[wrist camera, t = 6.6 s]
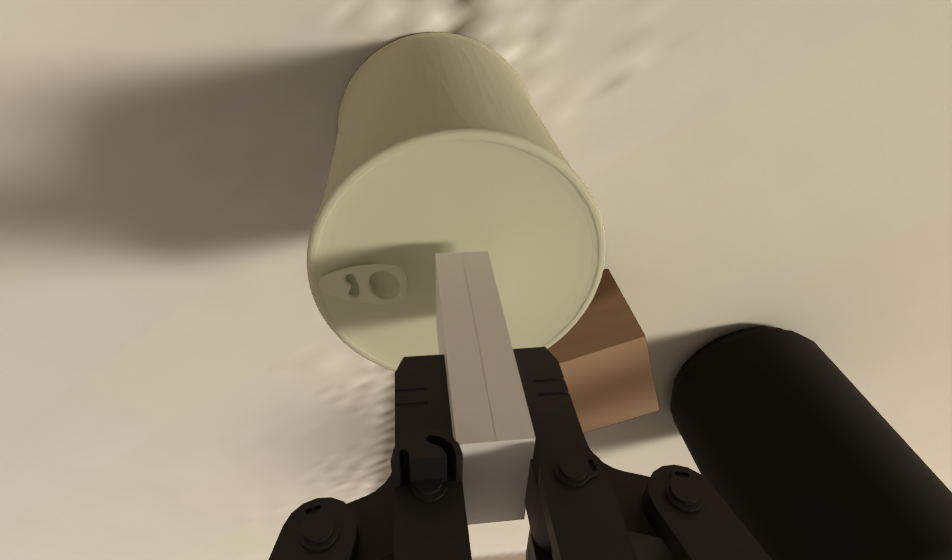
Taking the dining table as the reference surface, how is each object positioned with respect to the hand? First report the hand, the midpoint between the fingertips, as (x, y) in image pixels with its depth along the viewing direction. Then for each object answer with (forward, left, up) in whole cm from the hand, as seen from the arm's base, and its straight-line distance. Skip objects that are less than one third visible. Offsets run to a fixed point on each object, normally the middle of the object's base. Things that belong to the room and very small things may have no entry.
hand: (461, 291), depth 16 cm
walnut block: (+12, +8, -12) cm, 19 cm away
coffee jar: (+18, +21, -12) cm, 30 cm away
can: (0, 0, -12) cm, 12 cm away
